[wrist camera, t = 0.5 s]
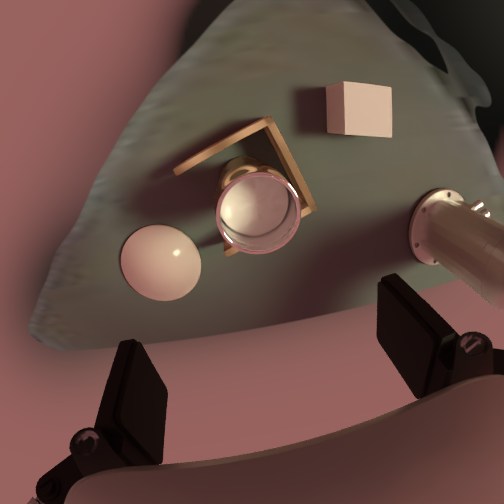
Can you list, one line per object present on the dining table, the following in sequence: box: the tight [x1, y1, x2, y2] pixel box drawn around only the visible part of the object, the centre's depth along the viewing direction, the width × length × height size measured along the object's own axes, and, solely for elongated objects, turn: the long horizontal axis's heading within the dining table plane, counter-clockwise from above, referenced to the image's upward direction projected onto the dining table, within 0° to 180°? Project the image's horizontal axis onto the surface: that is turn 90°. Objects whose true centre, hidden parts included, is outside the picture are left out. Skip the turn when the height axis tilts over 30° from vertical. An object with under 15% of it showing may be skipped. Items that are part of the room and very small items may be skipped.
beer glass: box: [214, 156, 301, 254], centre depth 30 cm, size 7×7×15 cm
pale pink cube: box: [326, 81, 392, 138], centre depth 32 cm, size 6×6×6 cm
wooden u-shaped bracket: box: [173, 116, 318, 257], centre depth 35 cm, size 12×12×5 cm
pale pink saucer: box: [121, 224, 201, 301], centre depth 40 cm, size 11×11×1 cm
